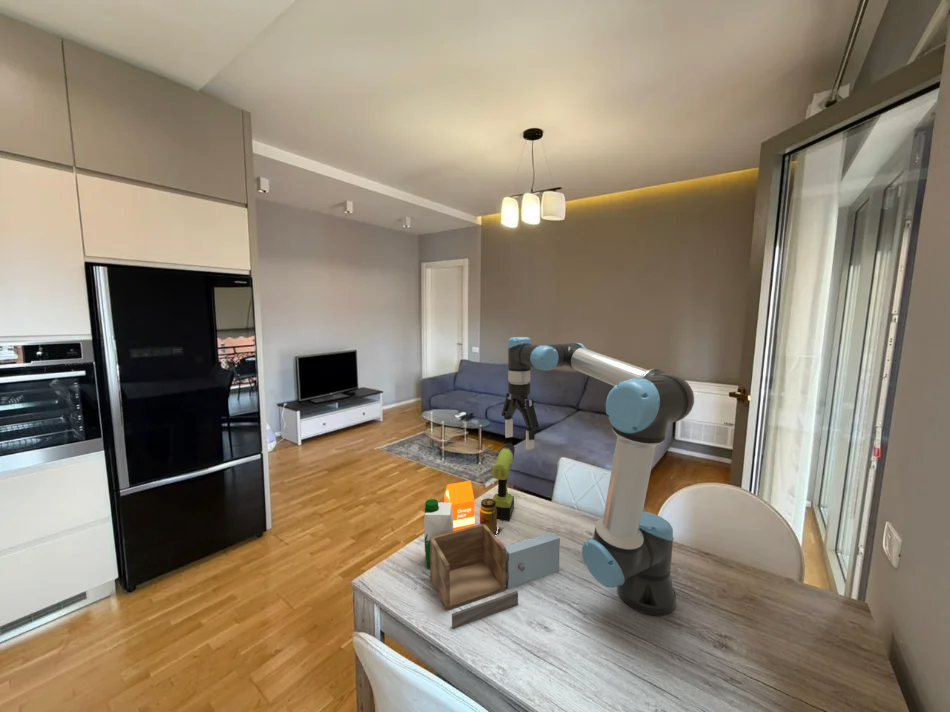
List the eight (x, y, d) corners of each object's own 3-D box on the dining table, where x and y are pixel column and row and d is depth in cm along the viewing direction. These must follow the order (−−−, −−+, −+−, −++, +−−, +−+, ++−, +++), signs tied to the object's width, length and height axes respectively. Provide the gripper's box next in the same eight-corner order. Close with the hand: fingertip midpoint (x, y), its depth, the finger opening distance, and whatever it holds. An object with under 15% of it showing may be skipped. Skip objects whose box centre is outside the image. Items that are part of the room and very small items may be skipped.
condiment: (475, 535, 137) (475, 503, 136) (485, 523, 145) (485, 493, 143) (493, 540, 134) (494, 508, 132) (503, 528, 141) (503, 497, 140)
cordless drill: (502, 493, 168) (502, 438, 164) (518, 495, 166) (519, 439, 163) (489, 522, 145) (490, 458, 142) (508, 524, 144) (509, 460, 140)
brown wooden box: (519, 604, 105) (520, 560, 104) (453, 628, 97) (452, 581, 96) (487, 560, 123) (487, 522, 122) (428, 578, 115) (427, 537, 114)
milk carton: (426, 552, 127) (425, 495, 125) (454, 552, 127) (453, 495, 125) (423, 570, 119) (422, 509, 116) (452, 570, 119) (452, 509, 116)
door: (561, 573, 118) (562, 540, 116) (510, 591, 110) (510, 556, 109) (552, 564, 122) (553, 531, 120) (502, 581, 114) (502, 546, 113)
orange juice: (444, 532, 139) (443, 479, 136) (467, 527, 142) (467, 476, 139) (450, 545, 131) (450, 489, 129) (474, 539, 135) (474, 485, 132)
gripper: (550, 387, 122) (549, 452, 124) (509, 376, 144) (509, 431, 147) (530, 389, 119) (530, 456, 121) (492, 377, 141) (492, 434, 144)
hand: (519, 442), depth 134 cm, fingers open, 13 cm apart
